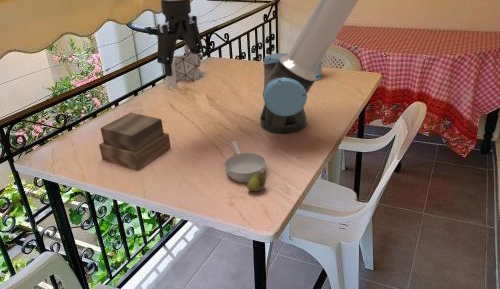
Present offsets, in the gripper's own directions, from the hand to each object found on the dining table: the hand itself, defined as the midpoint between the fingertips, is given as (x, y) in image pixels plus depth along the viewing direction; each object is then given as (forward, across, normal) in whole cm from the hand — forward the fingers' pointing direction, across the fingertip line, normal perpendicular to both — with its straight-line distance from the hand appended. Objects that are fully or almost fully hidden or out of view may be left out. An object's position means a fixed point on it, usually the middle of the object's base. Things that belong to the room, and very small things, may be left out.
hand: (184, 80), depth 120 cm
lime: (+20, +13, +30) cm, 39 cm away
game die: (0, 0, 0) cm, 0 cm away
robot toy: (+21, -51, -37) cm, 66 cm away
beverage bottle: (+20, -71, +10) cm, 74 cm away
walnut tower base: (+20, +12, -11) cm, 26 cm away
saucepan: (+20, +5, +21) cm, 30 cm away
